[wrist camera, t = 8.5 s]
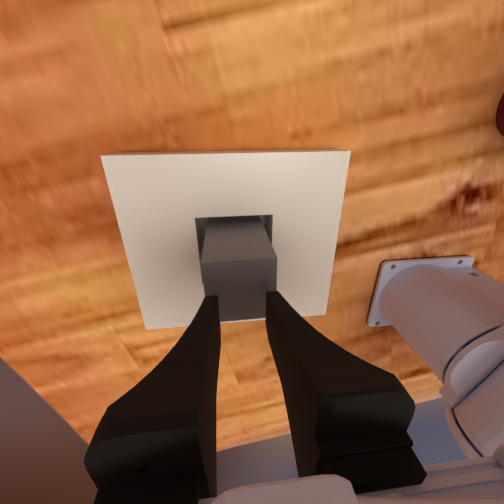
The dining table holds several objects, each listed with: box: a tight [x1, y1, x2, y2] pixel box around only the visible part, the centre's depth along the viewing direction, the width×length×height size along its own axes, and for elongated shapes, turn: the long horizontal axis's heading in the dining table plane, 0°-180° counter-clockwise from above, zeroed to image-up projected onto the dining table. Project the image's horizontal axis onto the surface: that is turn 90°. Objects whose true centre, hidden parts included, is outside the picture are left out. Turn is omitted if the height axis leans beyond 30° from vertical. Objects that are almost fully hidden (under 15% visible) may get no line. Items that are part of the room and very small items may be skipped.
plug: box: [201, 215, 277, 322], centre depth 17 cm, size 4×4×8 cm
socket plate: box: [101, 149, 351, 330], centre depth 20 cm, size 16×14×2 cm
